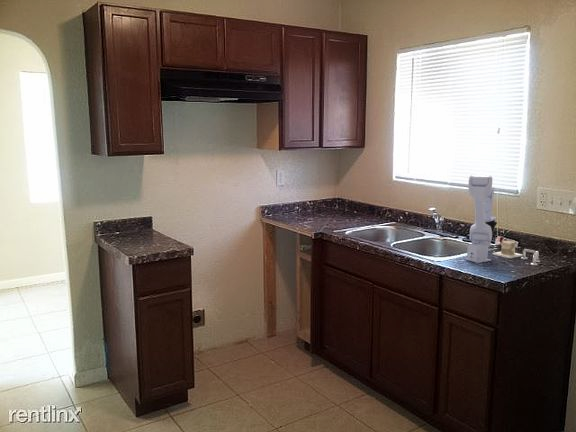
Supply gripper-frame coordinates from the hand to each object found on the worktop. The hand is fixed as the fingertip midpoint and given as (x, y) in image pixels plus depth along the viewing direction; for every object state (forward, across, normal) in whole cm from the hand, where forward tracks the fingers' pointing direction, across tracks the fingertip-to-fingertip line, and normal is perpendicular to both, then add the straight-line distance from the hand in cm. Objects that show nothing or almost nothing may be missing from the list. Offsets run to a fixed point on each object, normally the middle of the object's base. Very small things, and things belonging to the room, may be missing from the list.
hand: (484, 236), depth 262 cm
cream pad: (+9, +8, -8) cm, 15 cm away
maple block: (+9, +8, -9) cm, 14 cm away
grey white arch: (+9, +5, -22) cm, 25 cm away
